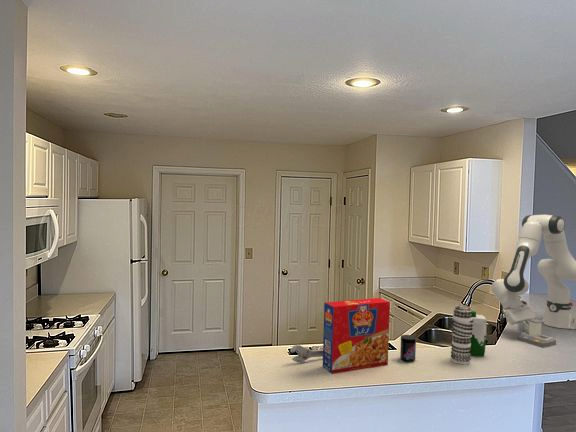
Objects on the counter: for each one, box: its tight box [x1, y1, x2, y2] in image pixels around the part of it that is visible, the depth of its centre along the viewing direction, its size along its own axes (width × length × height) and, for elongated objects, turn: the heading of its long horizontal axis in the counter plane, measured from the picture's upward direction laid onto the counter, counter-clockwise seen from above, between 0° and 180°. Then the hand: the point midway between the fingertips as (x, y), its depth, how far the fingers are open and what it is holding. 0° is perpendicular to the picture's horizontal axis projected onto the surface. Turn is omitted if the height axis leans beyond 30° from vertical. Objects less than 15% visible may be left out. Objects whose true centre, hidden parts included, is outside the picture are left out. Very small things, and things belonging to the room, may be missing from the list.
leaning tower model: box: [450, 304, 473, 365], centre depth 195 cm, size 9×9×25 cm
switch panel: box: [517, 331, 557, 349], centre depth 225 cm, size 12×13×4 cm
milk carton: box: [470, 310, 487, 358], centre depth 205 cm, size 9×9×20 cm
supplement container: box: [399, 334, 417, 363], centre depth 195 cm, size 7×7×10 cm
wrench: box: [289, 344, 323, 364], centre depth 193 cm, size 8×2×30 cm
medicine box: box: [517, 316, 538, 332], centre depth 245 cm, size 8×4×9 cm, turn 84°
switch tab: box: [529, 319, 543, 338], centre depth 226 cm, size 4×4×9 cm
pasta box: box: [322, 297, 391, 375], centre depth 186 cm, size 28×8×28 cm, turn 114°
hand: (530, 328), depth 228 cm, fingers closed, pressing on switch tab
